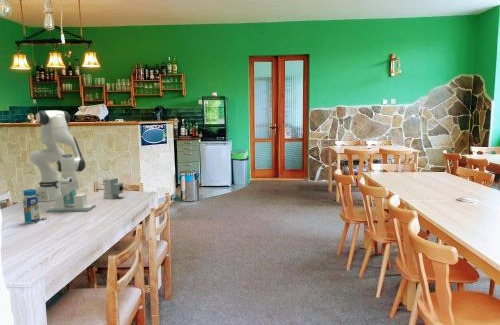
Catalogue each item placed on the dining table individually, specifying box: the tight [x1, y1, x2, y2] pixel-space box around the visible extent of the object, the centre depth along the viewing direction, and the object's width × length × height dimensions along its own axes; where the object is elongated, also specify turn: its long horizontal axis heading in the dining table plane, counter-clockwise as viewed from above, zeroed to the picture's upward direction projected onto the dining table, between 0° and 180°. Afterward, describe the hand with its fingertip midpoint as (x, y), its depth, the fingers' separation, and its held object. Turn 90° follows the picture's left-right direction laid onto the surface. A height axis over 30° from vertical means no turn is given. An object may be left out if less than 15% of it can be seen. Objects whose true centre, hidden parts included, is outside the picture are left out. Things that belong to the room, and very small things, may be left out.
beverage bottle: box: [22, 188, 41, 224], centre depth 243 cm, size 8×8×20 cm
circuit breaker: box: [102, 177, 125, 200], centre depth 307 cm, size 8×14×15 cm, turn 78°
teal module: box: [65, 190, 77, 205], centre depth 273 cm, size 5×6×9 cm
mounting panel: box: [45, 193, 97, 213], centre depth 273 cm, size 28×14×10 cm, turn 91°
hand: (70, 198), depth 273 cm, fingers closed on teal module, 5 cm apart
